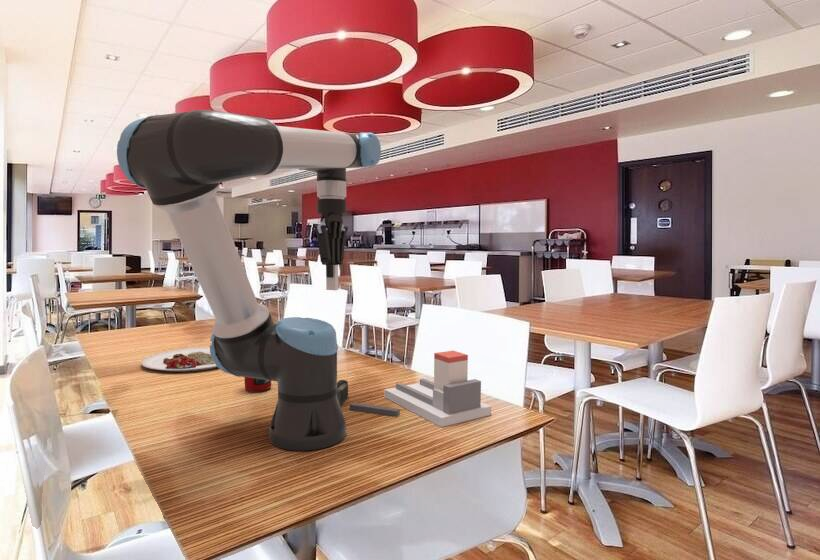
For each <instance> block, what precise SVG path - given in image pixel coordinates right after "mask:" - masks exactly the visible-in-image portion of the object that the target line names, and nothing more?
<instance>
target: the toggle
mask: <svg viewBox="0 0 820 560" xmlns="http://www.w3.org/2000/svg"><path fill="white" fill-rule="evenodd" d="M433 355H434V357H433V361H434V362H433V364H434V365H433V368H434V369H433V375H434V376H433V383H434V389H436V388H438V389H440V390H442V391H443V385H447V384H452V383H457V382H463V381H468V373H469V372H468V369H469V367H468V363H469V357H468V356H469V355H468V354H466V353H462V352H459V351H456V350H448V351H447V350H446V351H441V352H440V351H439V352H434V354H433Z"/></svg>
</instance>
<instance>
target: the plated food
mask: <svg viewBox="0 0 820 560" xmlns="http://www.w3.org/2000/svg"><path fill="white" fill-rule="evenodd" d="M141 366H143V367H144V368H147V369H151V370H157V371H165V372H174V373H177V372H180V373H181V372H195V371H203V370H211V369H215V368H218V367H217V366H216V364H215V363H214V361H213V359H212V357H211V354H210V346H207V347H205V346H204V347H202V346H201V347H200V346H199V347H189V348H188V347H187V348H179V349H174V350H173V349H172V350H168V351H163V352H158V353H155V354H152V355H149V356H147V357H144V358H143V359H142V360H141Z"/></svg>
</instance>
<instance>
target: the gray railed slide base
mask: <svg viewBox="0 0 820 560" xmlns="http://www.w3.org/2000/svg"><path fill="white" fill-rule="evenodd" d="M481 396H482V380H479V379H477V378H476V379H475V378H474V379H469V380H468V379H467V381H463V382H457V383H452V384H447V385H443V391H442V390H440V389H438V388H436V389H434V381H431V380H429V379H426V378H419V382H418V383H411V384H404V383H402V382H396V383H395V387H391V388H390V387H389V388H386V389H384V398H385V399H388V400H389V401H390V402H393V403H395V404H397V405H399V406H400V407H402V408H404V409H406V410H408V411H410V412H412V413H413V414H416V415H417V416H419V417H422V418H423V419H425V420H427V421H428V422H431V423H433V424H434V425H436V426H439V427H440V428H443V427H448V426H451V425H456V424H460V423H465V422H467V421H468V422H469V421H472V420H476V419H481V418H485V417H489V416H491V415H492V406H491V405H489V404H486V403H484V402H482V401H481V400H482V399H481V398H482V397H481Z"/></svg>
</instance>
